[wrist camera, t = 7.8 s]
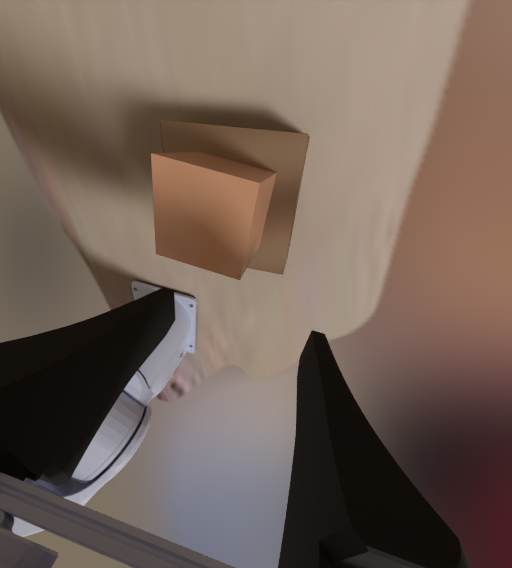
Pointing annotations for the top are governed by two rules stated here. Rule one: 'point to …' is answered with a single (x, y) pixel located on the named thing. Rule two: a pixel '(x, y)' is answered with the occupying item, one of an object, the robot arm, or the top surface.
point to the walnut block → (259, 153)
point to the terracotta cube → (209, 210)
